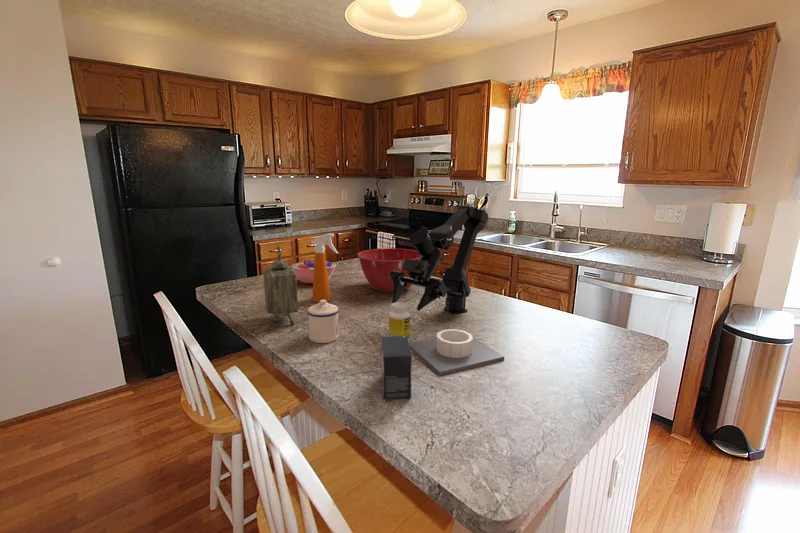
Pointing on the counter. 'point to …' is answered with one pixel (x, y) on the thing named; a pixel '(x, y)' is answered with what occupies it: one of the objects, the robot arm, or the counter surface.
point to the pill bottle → (399, 320)
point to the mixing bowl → (385, 266)
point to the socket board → (454, 362)
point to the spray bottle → (321, 268)
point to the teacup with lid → (323, 322)
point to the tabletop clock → (280, 288)
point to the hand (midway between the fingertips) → (405, 306)
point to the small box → (396, 367)
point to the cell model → (310, 270)
